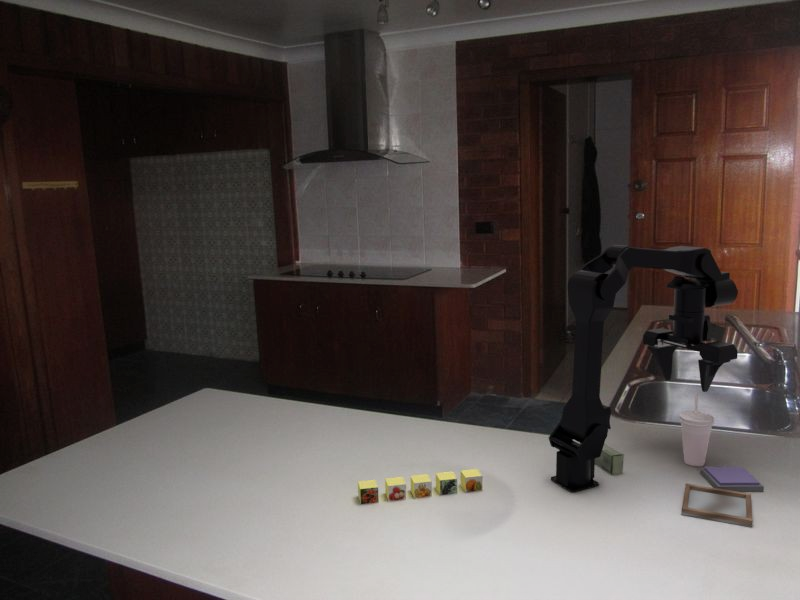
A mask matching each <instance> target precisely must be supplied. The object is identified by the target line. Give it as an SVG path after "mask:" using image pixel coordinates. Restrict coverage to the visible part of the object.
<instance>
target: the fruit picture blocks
mask: <svg viewBox="0 0 800 600" xmlns="http://www.w3.org/2000/svg"><path fill="white" fill-rule="evenodd" d="M384 482H385V483H384V488H385V496H386V498H387V500H388V502H394V501H404V500H407V483H406V482H405V479H404V478H403V476H397V477H386V478H384ZM432 485H433V484H432V479H431V478H430V476H429V475H428V474H427V473H425V474H424V473H423V474H416V475H410V492H411V494H412V496H413V498H414V499H421V498H431V497H433V488H432V487H433V486H432ZM483 485H484V484H483V474H482V473H481V471H480V470H479V469H478V468H472V469H471V468H470V469H463V470H462V469H461V470H460V486H461V488H462V489H463V491H464V492H465V493H474V492H482V491H484V490H483V489H484V488H483V487H484V486H483ZM435 489H436V490H437V492H438V494H439V495H440V496H449V495H456V494H458V477H457V475H456V474H455V473H454V472H453V471H446V472H445V471H444V472H436V473H435ZM357 497H358V500H359V503H360V505H369V504H370V505H371V504H377V503H379V497H380V496H379V485H378V482H377V480H376V479H369V480H359V481H357Z"/></svg>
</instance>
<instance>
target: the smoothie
mask: <svg viewBox="0 0 800 600" xmlns="http://www.w3.org/2000/svg"><path fill="white" fill-rule="evenodd" d="M694 395H695V396H694V411H693V410H687V411H686V410H685V411H682V412H680V413H679V416H678V417H679V418H678V420H679V422H680V429H681V438H682V452H683V462H684V463H685V464H687V465H688V466H692V467H702V466H704V465H705V463H706V458H707V453H708V448H709V447H708V446H709V442H710V437H711V431H712V427H713V425H714V424H715V418H714V415H712V414H709V413H706V412H702V411H698V409H699V407H698V405H699V394H698V393H694Z"/></svg>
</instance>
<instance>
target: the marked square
mask: <svg viewBox="0 0 800 600" xmlns="http://www.w3.org/2000/svg"><path fill="white" fill-rule="evenodd" d="M684 485H685V486H684V491H683V497H682V505H681V512H680V513H681V516H687V517H692V518H698V519H699V518H700V519H704V520H709V521H715V522H720V523H726V524H727V523H728V524H732V525H737V526H744V527H749V528H753V521H754V520H753V519H754V518H753V505H752V504H753V503H752V502H753V501H752V493H749V492H737V491H731V490H725V489H718V488H714V487H713V486H705V485H698V484H692V483H685V484H684Z"/></svg>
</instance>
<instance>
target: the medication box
mask: <svg viewBox="0 0 800 600" xmlns="http://www.w3.org/2000/svg"><path fill="white" fill-rule="evenodd" d="M579 444H582V443H580V442H579ZM624 457H625V454H623V453H622V452H621V451H618V450H616V449H614V448H613V447H611V446H610V445H608V444H606V443H605V442H604V446H603V449H602V452H601V455H600V457H598V458H595V465H596V466H597V467H599V468H600V469H602V470H603V471H605V472H606V473H608V474H609V475H610V476H615V475H617V476H618V475H622V474H623V473H624V461H625V459H624Z"/></svg>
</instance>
